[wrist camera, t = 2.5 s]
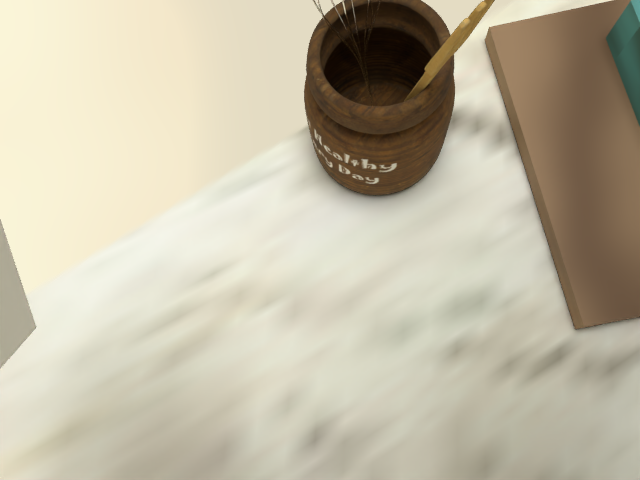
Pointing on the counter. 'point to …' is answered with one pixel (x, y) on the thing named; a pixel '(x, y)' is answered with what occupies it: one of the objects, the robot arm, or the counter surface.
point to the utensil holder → (382, 90)
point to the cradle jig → (580, 146)
